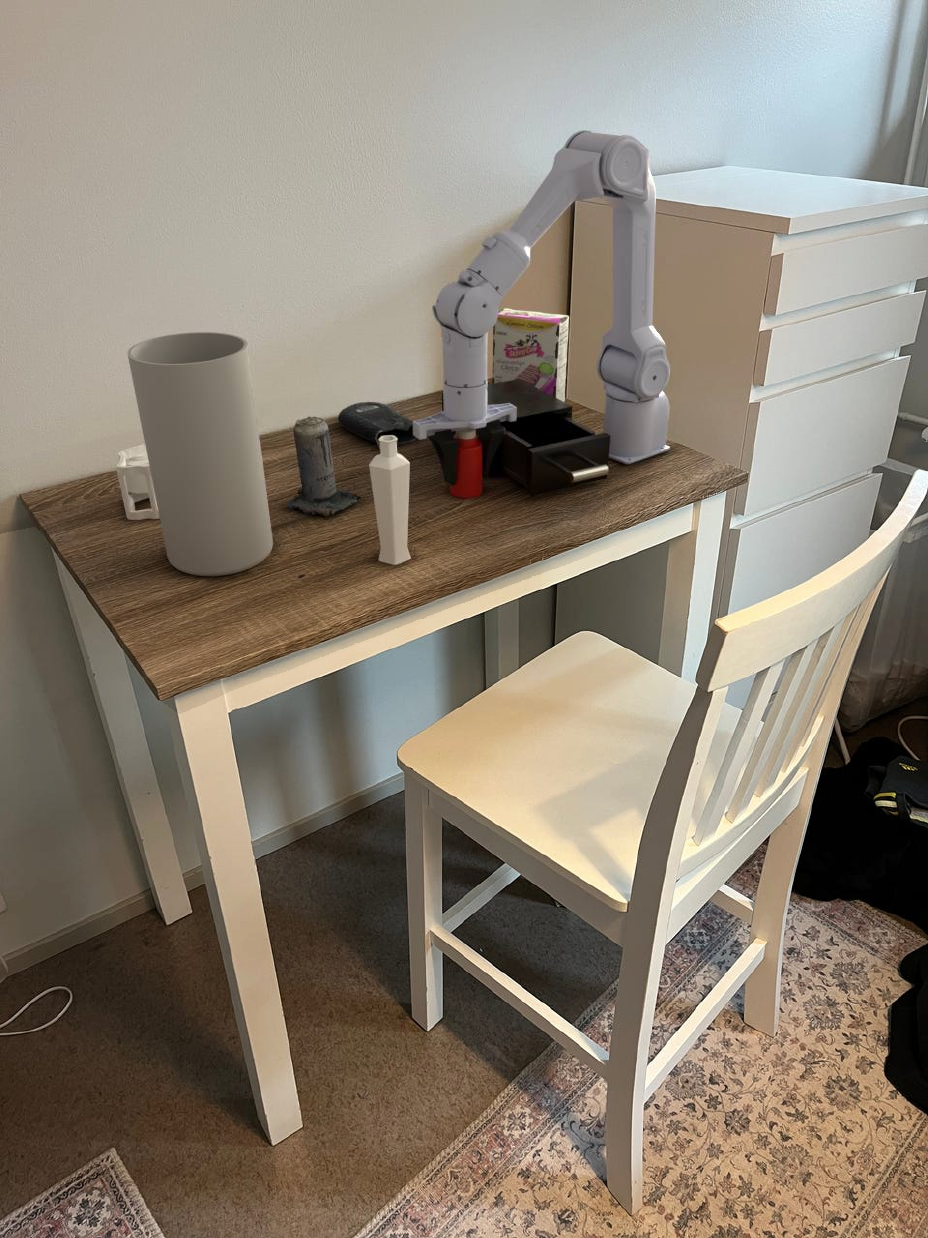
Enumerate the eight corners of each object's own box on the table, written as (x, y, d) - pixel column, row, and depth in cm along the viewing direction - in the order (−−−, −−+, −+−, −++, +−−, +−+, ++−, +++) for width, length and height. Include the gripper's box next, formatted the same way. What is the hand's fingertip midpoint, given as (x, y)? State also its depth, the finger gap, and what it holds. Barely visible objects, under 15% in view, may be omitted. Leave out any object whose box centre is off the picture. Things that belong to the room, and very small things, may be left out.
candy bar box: (490, 416, 156) (491, 314, 147) (502, 406, 160) (503, 307, 151) (555, 425, 152) (559, 321, 143) (565, 415, 156) (570, 313, 147)
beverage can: (281, 512, 125) (270, 425, 119) (308, 490, 131) (300, 406, 125) (343, 522, 122) (335, 433, 116) (368, 499, 128) (362, 413, 122)
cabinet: (569, 459, 140) (572, 406, 135) (489, 477, 134) (489, 422, 130) (518, 428, 151) (519, 378, 146) (442, 444, 145) (441, 392, 141)
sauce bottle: (468, 482, 133) (468, 420, 128) (488, 492, 130) (489, 429, 125) (443, 490, 131) (442, 428, 126) (463, 501, 128) (463, 437, 123)
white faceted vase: (408, 567, 112) (403, 447, 104) (373, 564, 112) (364, 444, 105) (418, 550, 116) (413, 432, 108) (383, 547, 116) (376, 430, 108)
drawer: (627, 490, 128) (631, 446, 124) (550, 509, 123) (552, 464, 120) (554, 447, 141) (556, 406, 138) (481, 462, 137) (481, 420, 133)
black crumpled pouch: (428, 445, 149) (378, 407, 158) (426, 414, 145) (374, 377, 154) (378, 466, 145) (329, 426, 154) (374, 435, 141) (324, 395, 150)
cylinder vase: (279, 570, 111) (252, 358, 98) (169, 586, 108) (127, 369, 95) (267, 525, 122) (241, 328, 108) (166, 538, 119) (127, 337, 106)
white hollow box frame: (246, 464, 139) (239, 416, 135) (277, 490, 131) (270, 439, 127) (108, 496, 130) (97, 445, 126) (132, 526, 122) (121, 472, 118)
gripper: (428, 398, 116) (431, 500, 123) (529, 380, 122) (526, 478, 129) (404, 383, 121) (408, 481, 129) (502, 366, 127) (500, 461, 134)
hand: (465, 479), depth 129 cm, fingers closed on sauce bottle, 4 cm apart
